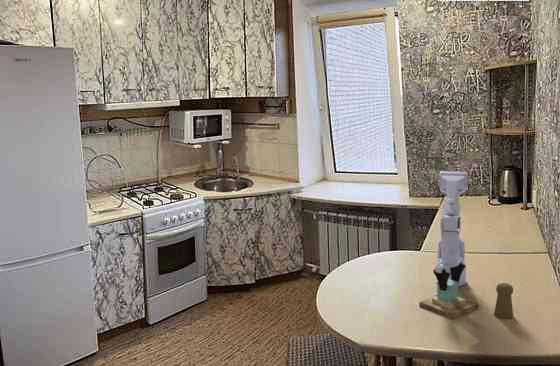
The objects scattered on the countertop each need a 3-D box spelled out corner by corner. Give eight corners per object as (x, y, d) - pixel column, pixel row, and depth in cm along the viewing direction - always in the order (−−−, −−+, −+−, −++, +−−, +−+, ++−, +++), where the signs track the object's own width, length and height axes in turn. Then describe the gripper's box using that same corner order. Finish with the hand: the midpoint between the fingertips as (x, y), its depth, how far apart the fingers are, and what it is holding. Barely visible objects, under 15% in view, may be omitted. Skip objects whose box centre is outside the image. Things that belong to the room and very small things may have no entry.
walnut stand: (444, 295, 199) (445, 287, 198) (478, 307, 188) (478, 299, 187) (419, 305, 191) (419, 297, 191) (452, 318, 180) (452, 310, 179)
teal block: (445, 294, 193) (445, 278, 192) (457, 298, 189) (458, 281, 188) (437, 298, 190) (437, 282, 188) (449, 302, 186) (450, 285, 185)
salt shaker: (501, 320, 177) (503, 288, 175) (489, 313, 183) (491, 282, 181) (517, 317, 179) (518, 286, 177) (505, 310, 185) (506, 280, 183)
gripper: (451, 242, 193) (450, 278, 196) (427, 252, 184) (427, 289, 186) (469, 246, 188) (468, 283, 190) (446, 256, 179) (445, 295, 181)
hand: (449, 286), depth 188 cm, fingers open, 7 cm apart
